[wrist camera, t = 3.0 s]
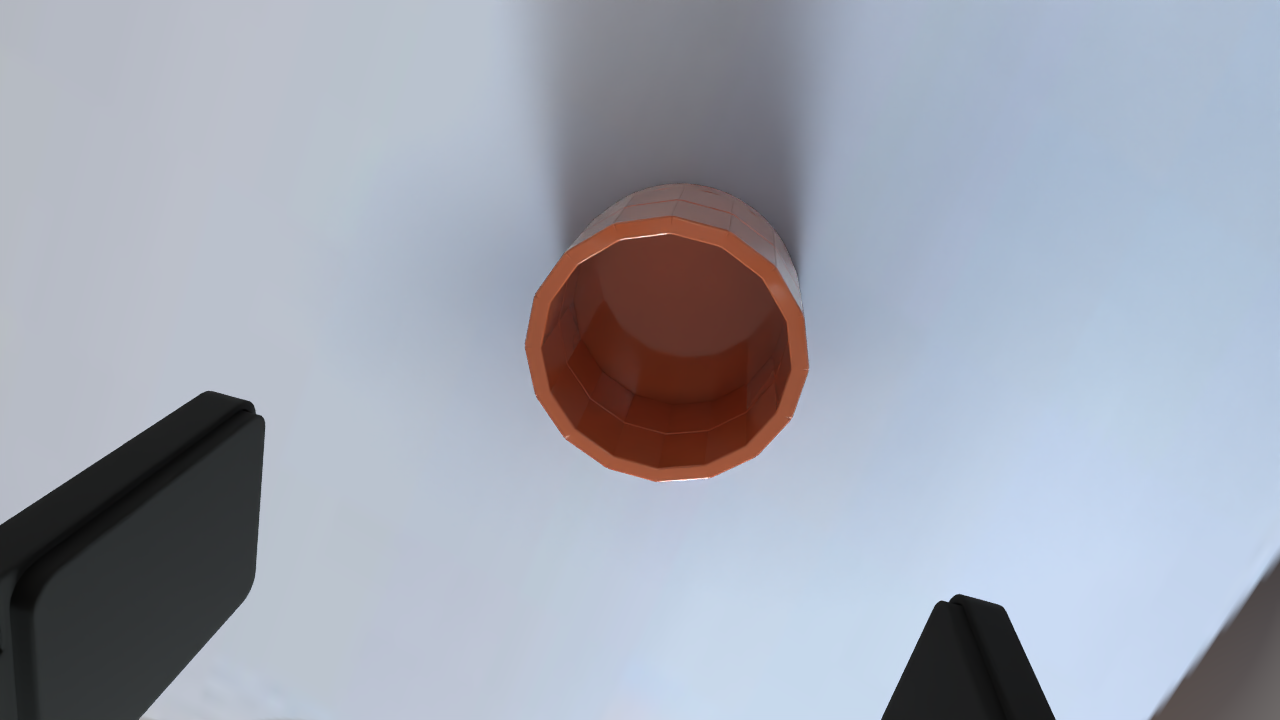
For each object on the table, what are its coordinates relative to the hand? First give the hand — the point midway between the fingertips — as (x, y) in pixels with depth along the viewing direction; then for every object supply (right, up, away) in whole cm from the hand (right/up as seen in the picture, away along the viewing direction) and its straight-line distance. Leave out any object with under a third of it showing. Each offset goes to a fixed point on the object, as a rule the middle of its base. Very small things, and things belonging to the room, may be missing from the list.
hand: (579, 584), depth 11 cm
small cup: (+2, +5, +12) cm, 13 cm away
